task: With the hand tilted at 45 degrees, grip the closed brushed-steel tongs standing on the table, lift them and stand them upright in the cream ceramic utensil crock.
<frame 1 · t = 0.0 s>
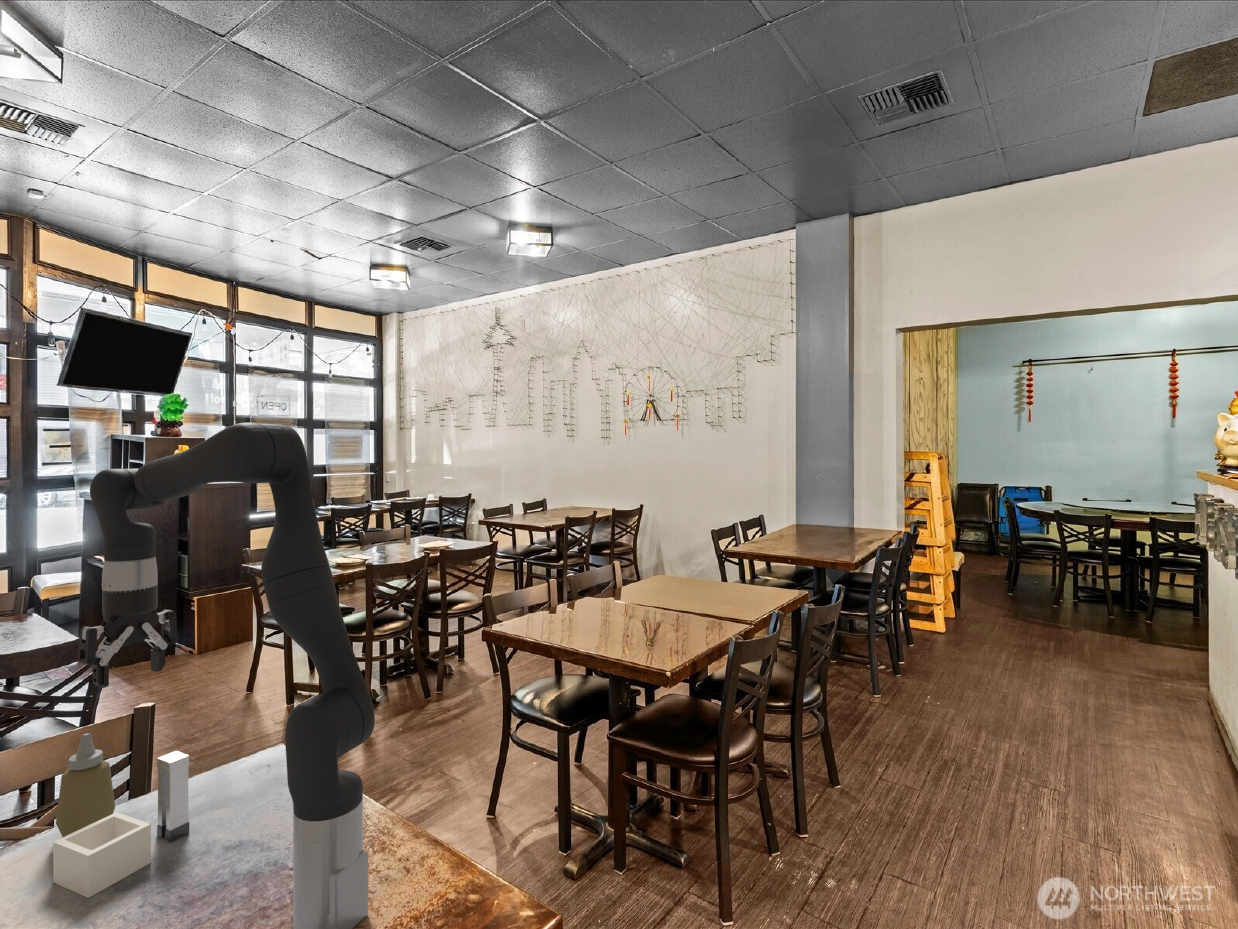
hand: (130, 678, 108), 29 cm above the table, tool pointing down, fingers open, 8 cm apart
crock: (103, 872, 102), on the table
squeeze bottle: (86, 836, 112), on the table
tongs: (173, 834, 112), on the table
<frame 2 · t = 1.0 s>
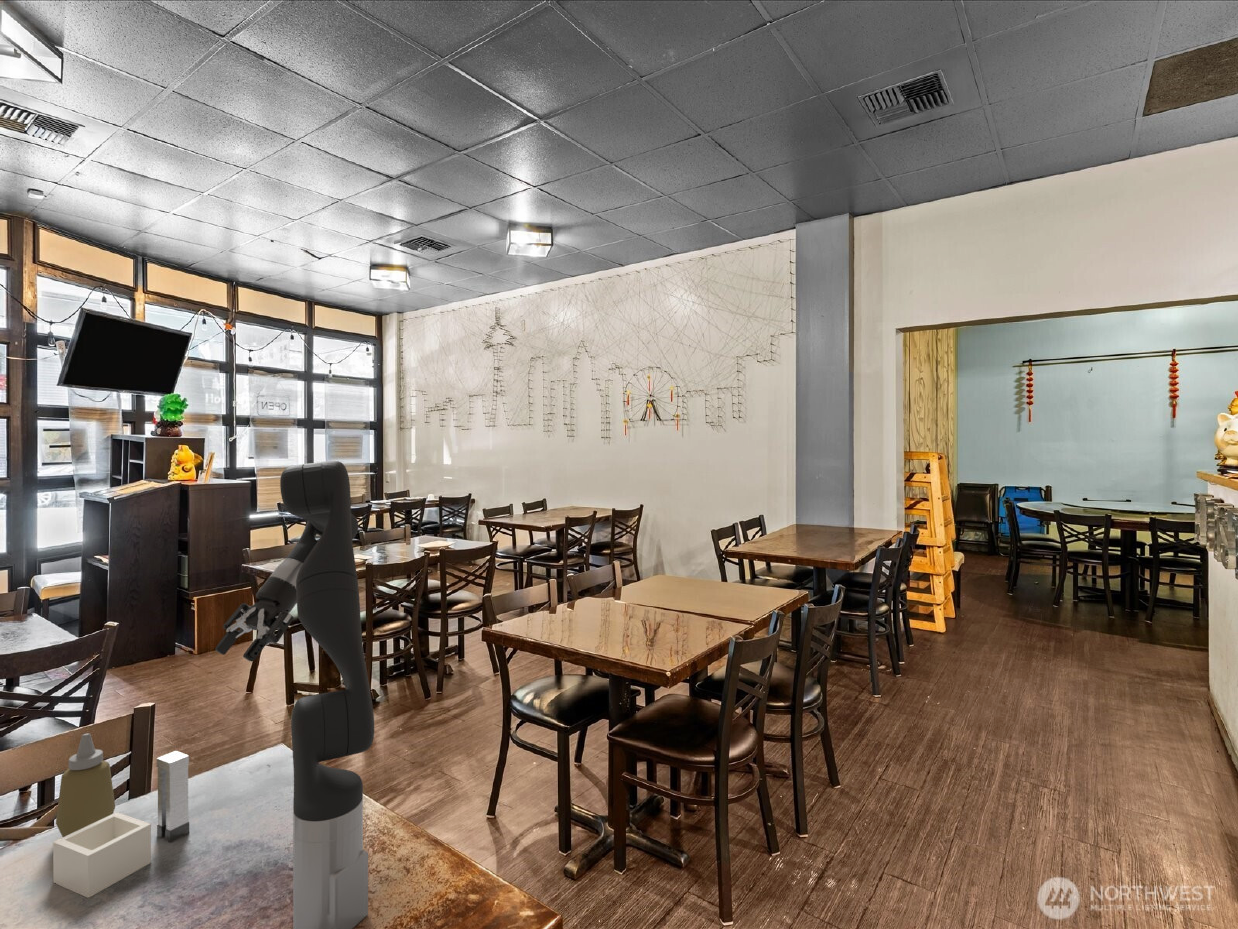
hand: (233, 656, 121), 29 cm above the table, tool tilted 45°, fingers open, 8 cm apart
nothing on the table moved.
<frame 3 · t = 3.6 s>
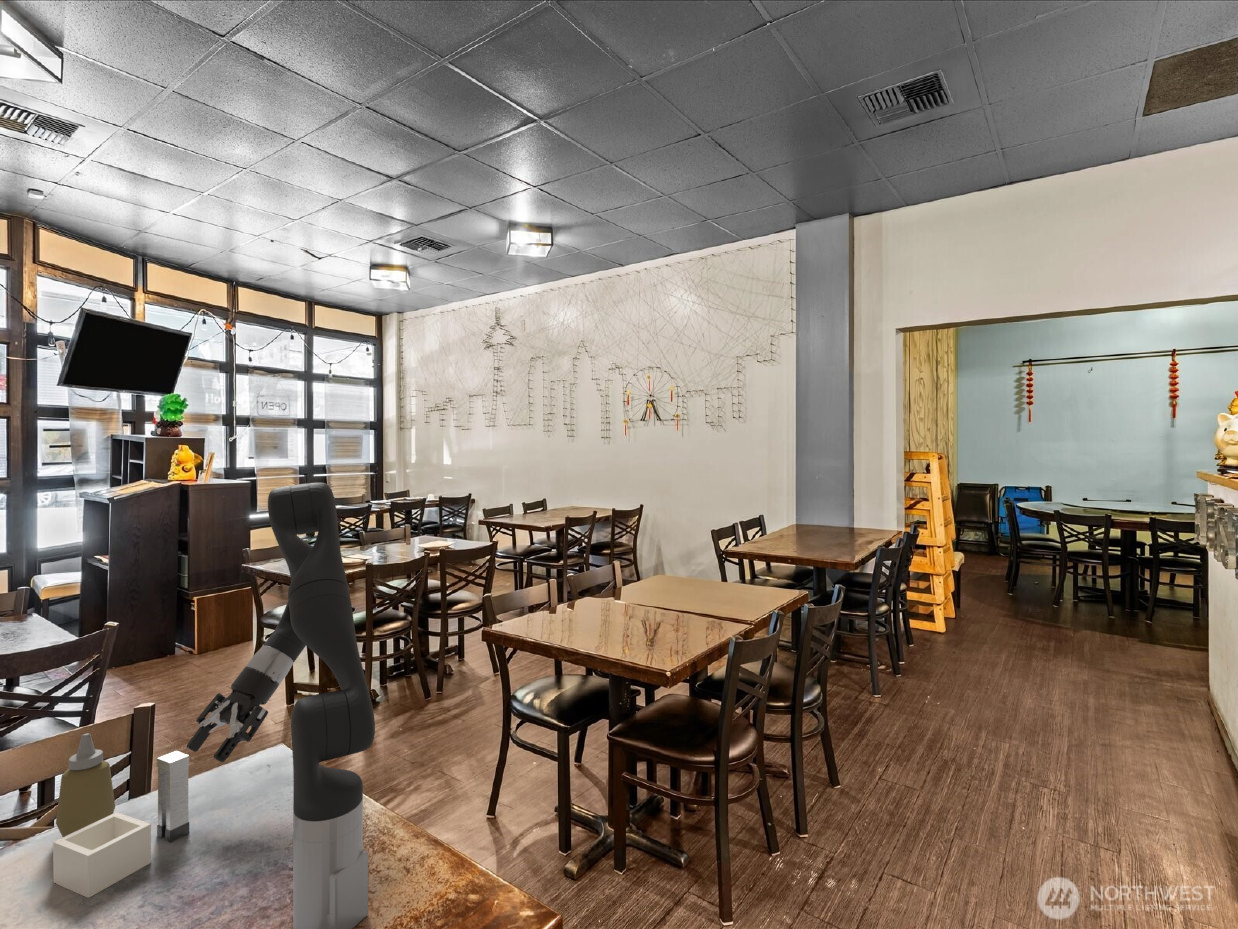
hand: (204, 755, 116), 12 cm above the table, tool tilted 45°, fingers open, 8 cm apart
nothing on the table moved.
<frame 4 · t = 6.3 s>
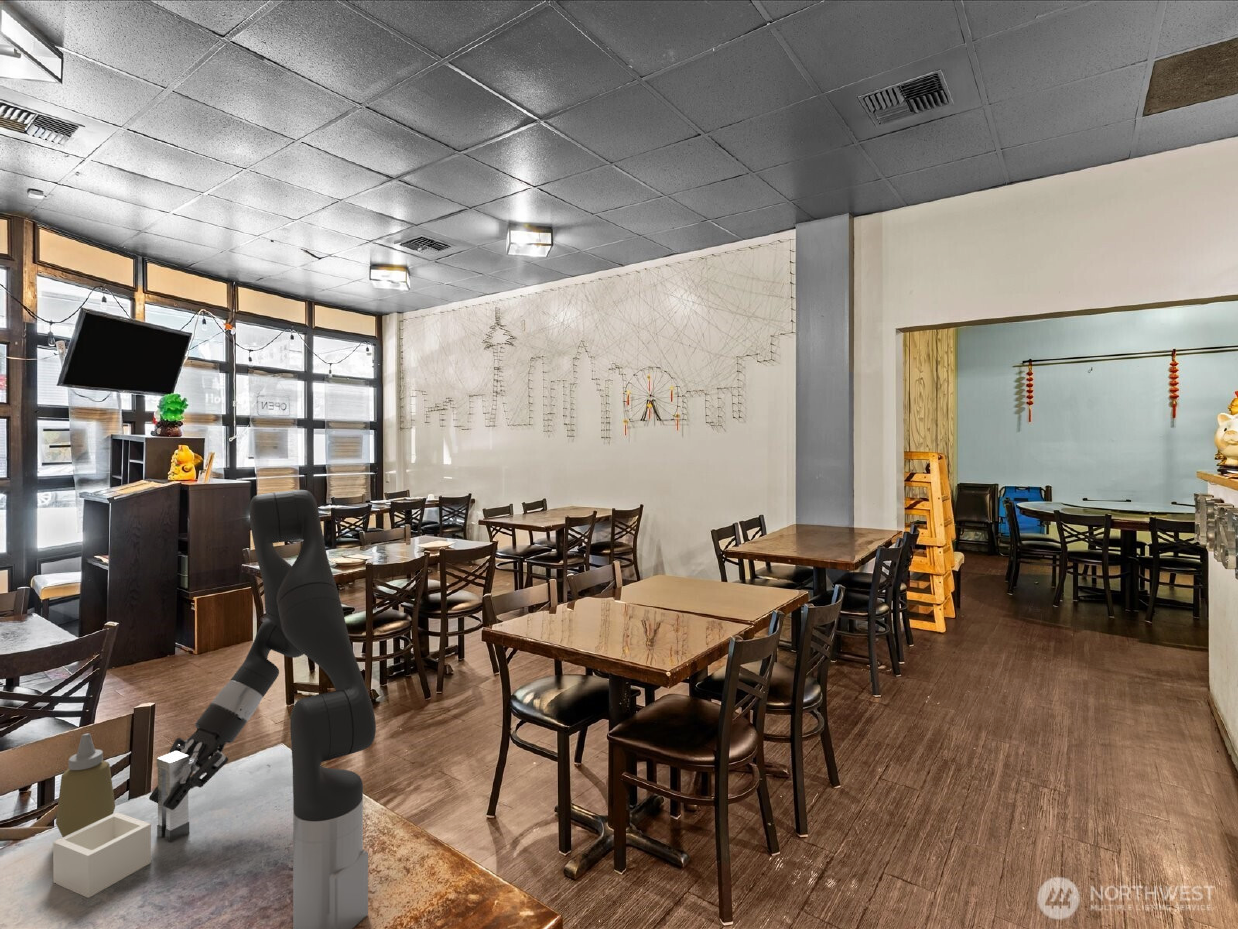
hand: (161, 804, 110), 6 cm above the table, tool tilted 45°, fingers closed on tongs, 3 cm apart
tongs: (173, 834, 112), on the table, touching gripper
everything else where it was.
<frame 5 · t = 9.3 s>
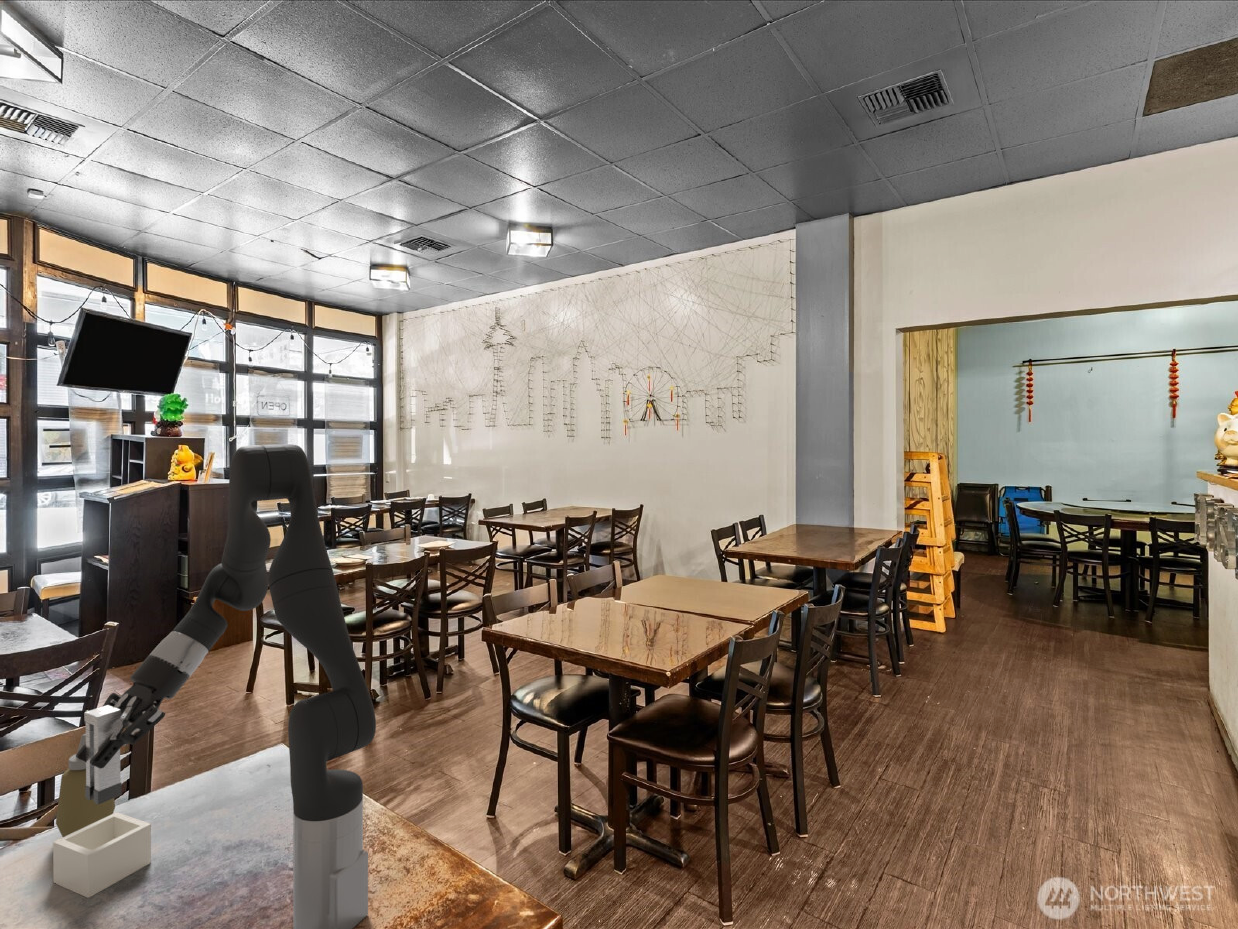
hand: (88, 762, 100), 19 cm above the table, tool tilted 45°, fingers closed on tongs, 3 cm apart
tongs: (103, 796, 102), point 12 cm above the table, touching gripper
everything else where it was.
when the fingers open (9 cm above the table, at t = 12.1 s): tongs drops 1 cm, resting on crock.
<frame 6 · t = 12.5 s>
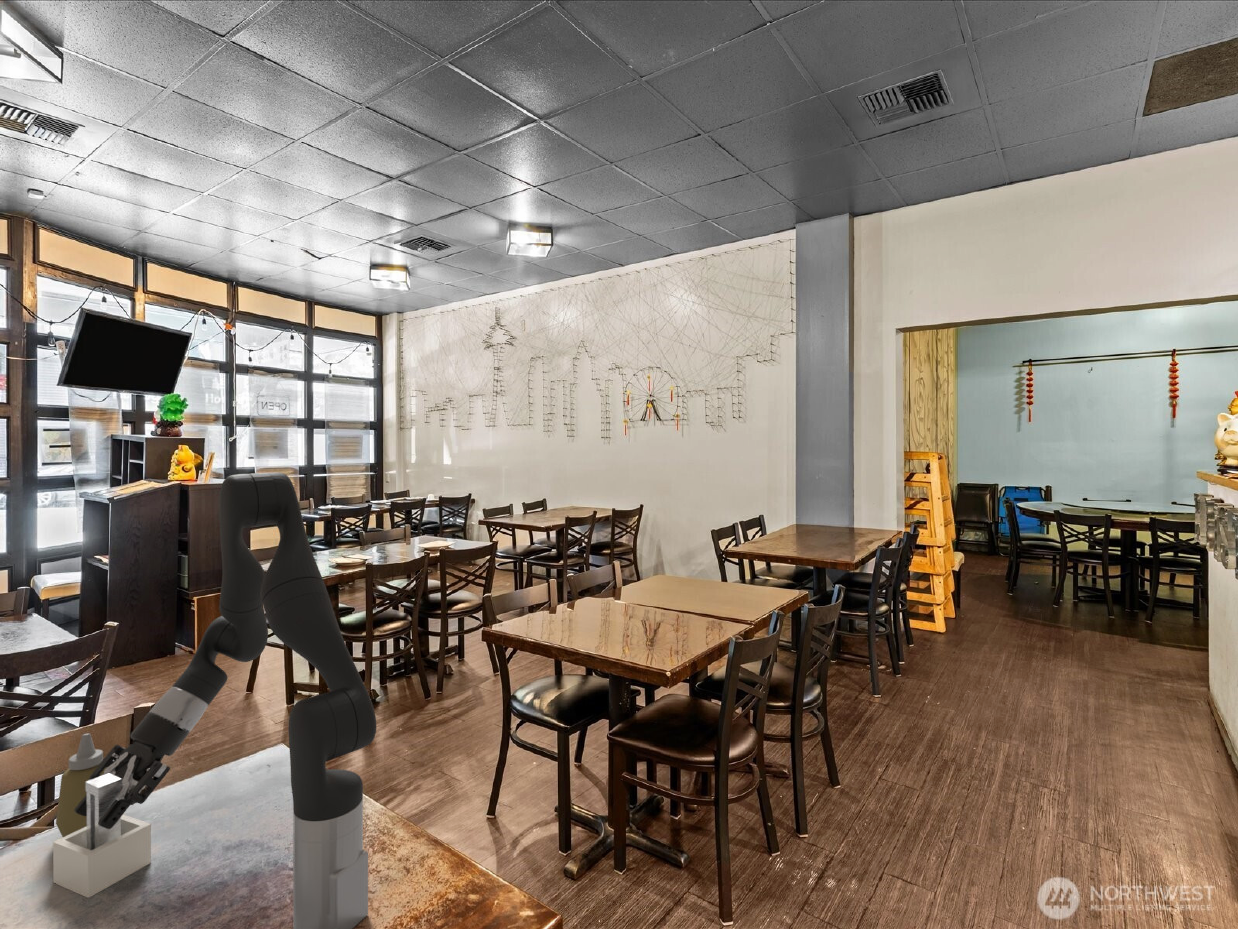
hand: (91, 820, 100), 9 cm above the table, tool tilted 45°, fingers open, 7 cm apart
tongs: (103, 866, 102), point 1 cm above the table, touching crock
everything else where it was.
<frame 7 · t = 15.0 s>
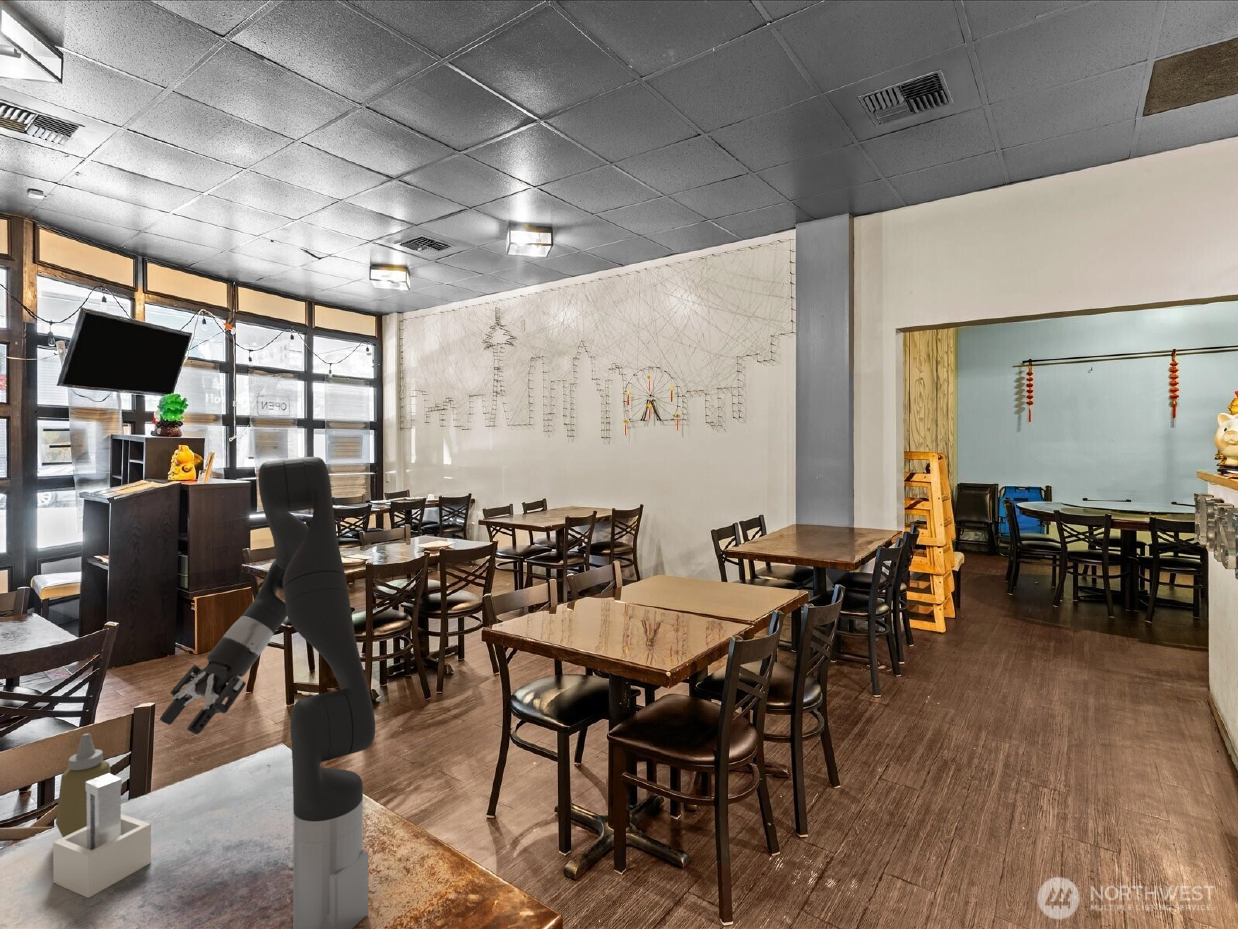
hand: (178, 727, 112), 19 cm above the table, tool tilted 45°, fingers open, 8 cm apart
nothing on the table moved.
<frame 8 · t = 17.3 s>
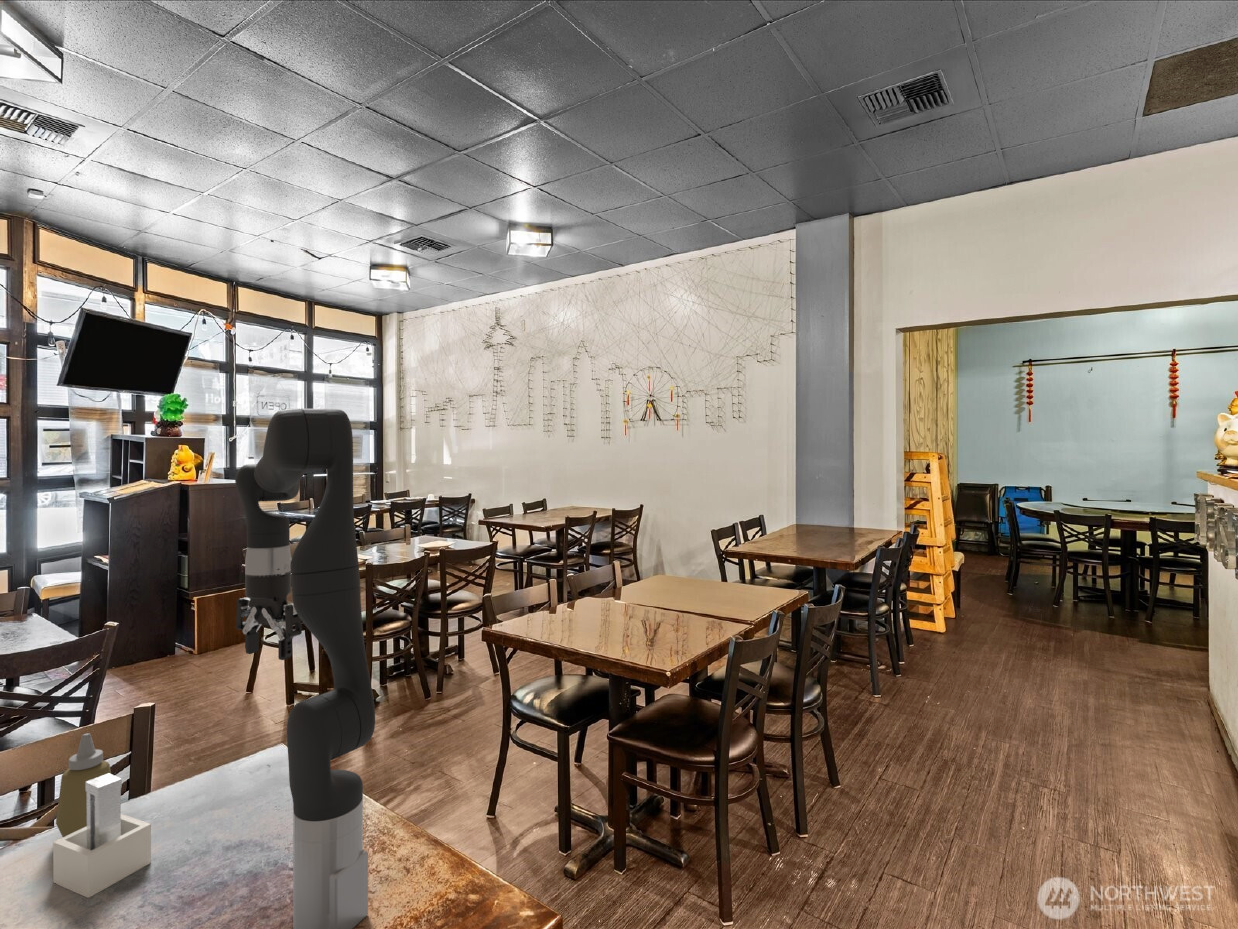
hand: (268, 655, 118), 30 cm above the table, tool pointing down, fingers open, 8 cm apart
nothing on the table moved.
at the end: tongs 0.1 cm off-centre on the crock, point 1.0 cm above the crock's base; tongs tilted 0°; the gripper is holding nothing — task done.
